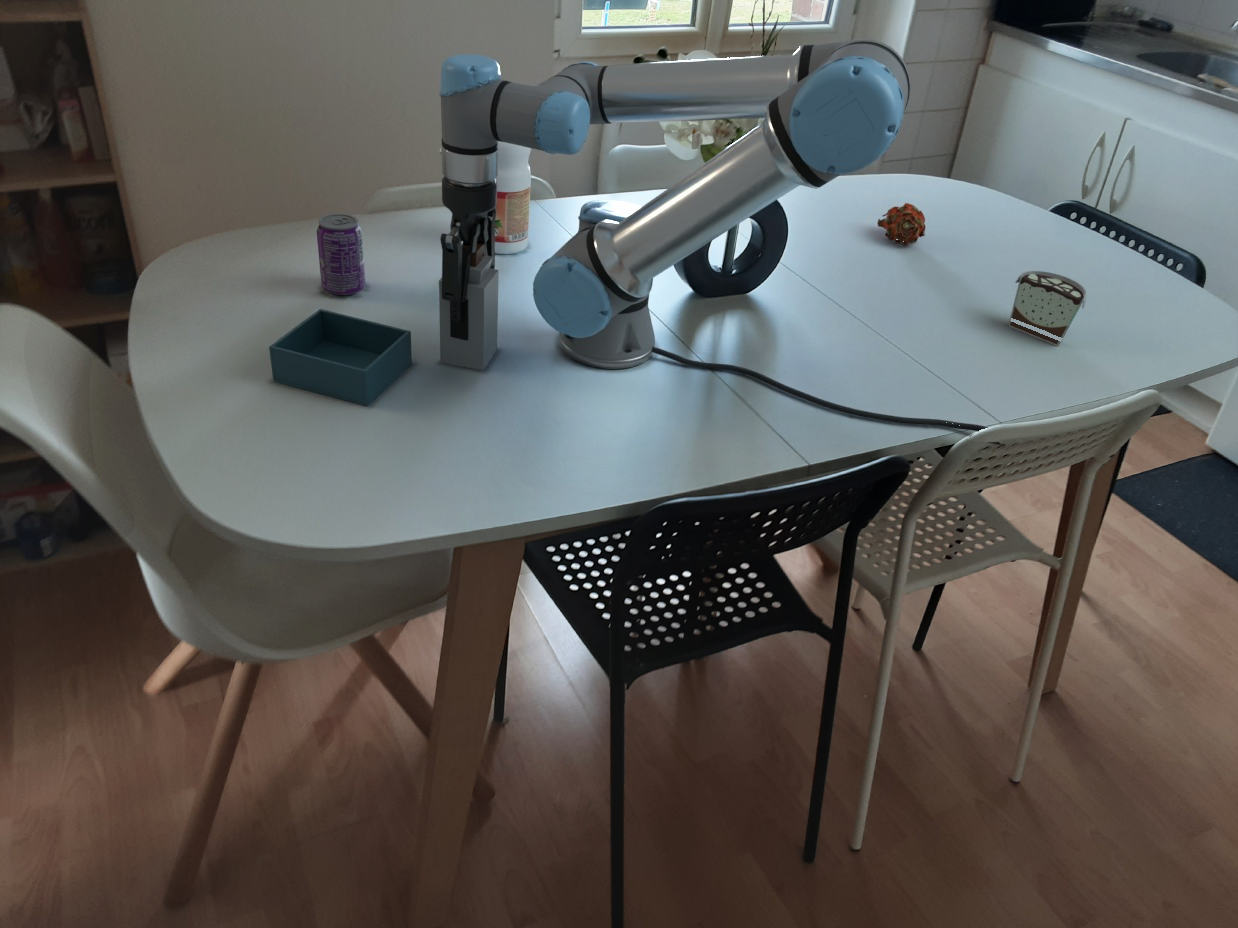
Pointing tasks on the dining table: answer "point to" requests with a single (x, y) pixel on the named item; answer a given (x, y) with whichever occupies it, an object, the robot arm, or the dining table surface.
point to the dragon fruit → (903, 224)
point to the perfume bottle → (473, 317)
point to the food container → (1046, 303)
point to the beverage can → (341, 254)
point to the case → (341, 356)
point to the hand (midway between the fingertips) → (469, 328)
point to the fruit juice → (512, 198)
